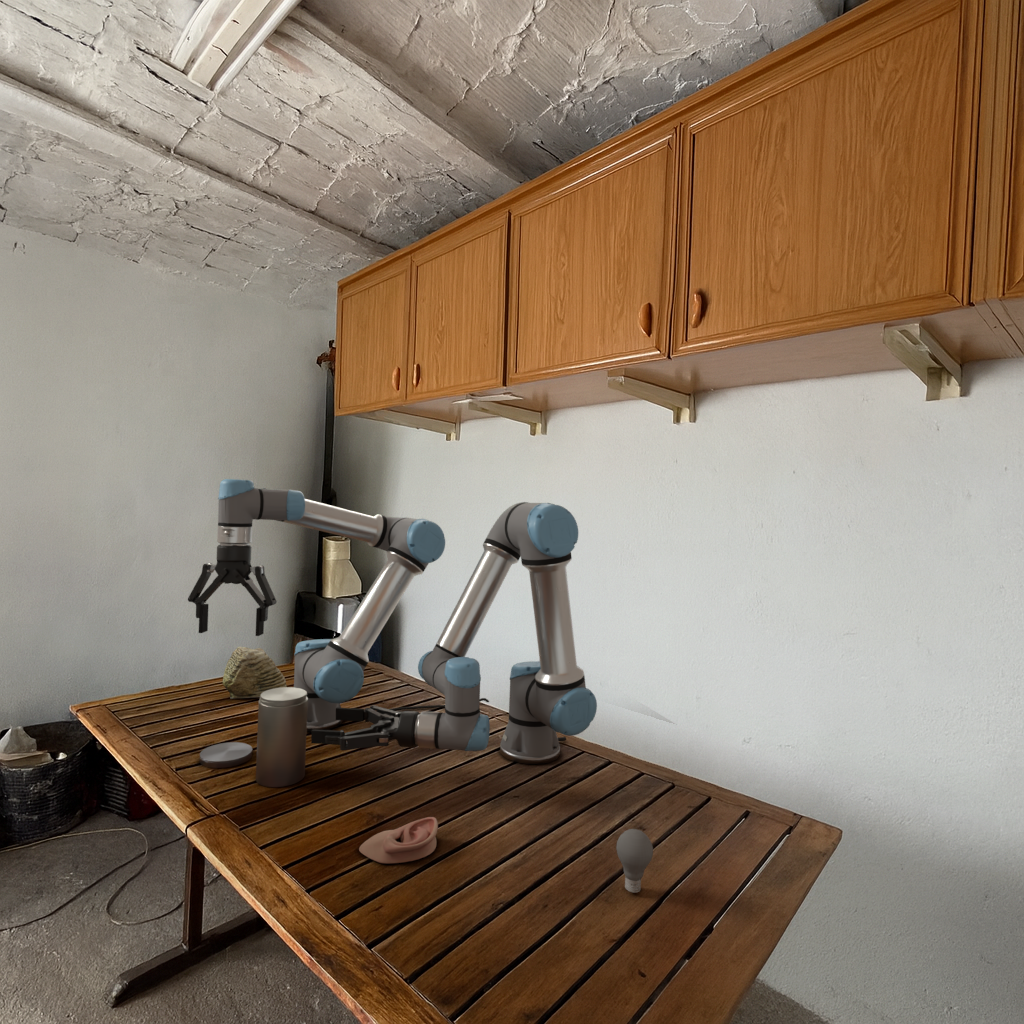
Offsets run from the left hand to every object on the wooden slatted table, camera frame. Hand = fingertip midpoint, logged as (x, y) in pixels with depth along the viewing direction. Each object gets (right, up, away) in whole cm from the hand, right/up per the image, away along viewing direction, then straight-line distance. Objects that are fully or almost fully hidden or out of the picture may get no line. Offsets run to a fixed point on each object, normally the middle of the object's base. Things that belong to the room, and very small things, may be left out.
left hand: (231, 633), depth 150 cm
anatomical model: (+46, -33, -35) cm, 66 cm away
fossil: (-14, -28, +48) cm, 57 cm away
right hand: (+25, -18, -10) cm, 33 cm away
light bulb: (+87, -35, -45) cm, 104 cm away
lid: (-1, -29, 0) cm, 29 cm away
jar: (+15, -31, -8) cm, 35 cm away
